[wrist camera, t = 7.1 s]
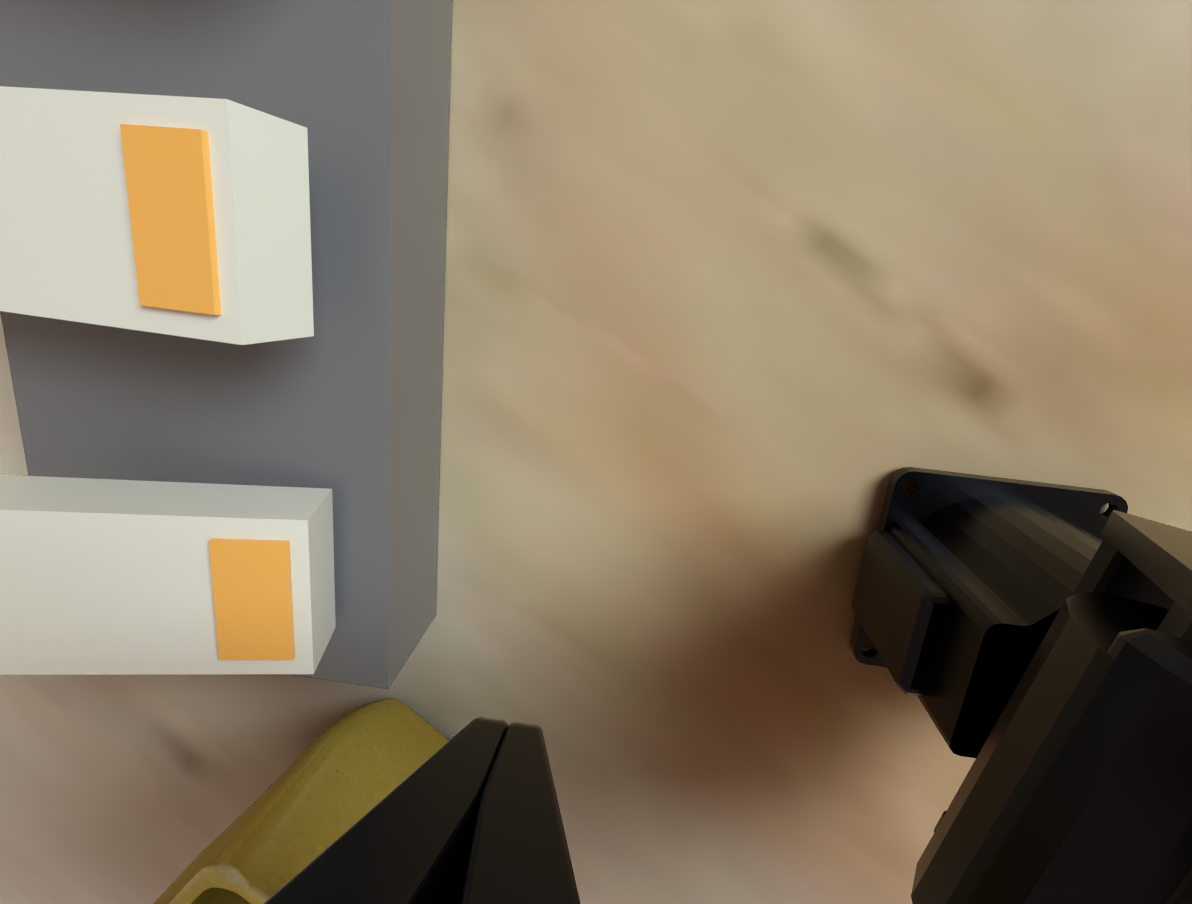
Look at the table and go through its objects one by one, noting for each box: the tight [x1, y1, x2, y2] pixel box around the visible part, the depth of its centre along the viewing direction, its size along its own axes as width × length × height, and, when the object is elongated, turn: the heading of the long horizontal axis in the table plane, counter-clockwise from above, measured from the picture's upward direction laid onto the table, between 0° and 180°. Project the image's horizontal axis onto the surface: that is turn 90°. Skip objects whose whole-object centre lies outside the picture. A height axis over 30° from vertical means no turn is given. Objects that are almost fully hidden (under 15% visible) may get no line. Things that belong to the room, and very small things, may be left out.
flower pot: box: [154, 699, 449, 904], centre depth 19 cm, size 9×9×9 cm
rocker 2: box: [0, 475, 336, 675], centre depth 15 cm, size 8×4×2 cm, turn 85°
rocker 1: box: [0, 86, 314, 345], centre depth 12 cm, size 8×4×2 cm, turn 84°
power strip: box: [0, 0, 453, 689], centre depth 16 cm, size 10×30×4 cm, turn 174°
